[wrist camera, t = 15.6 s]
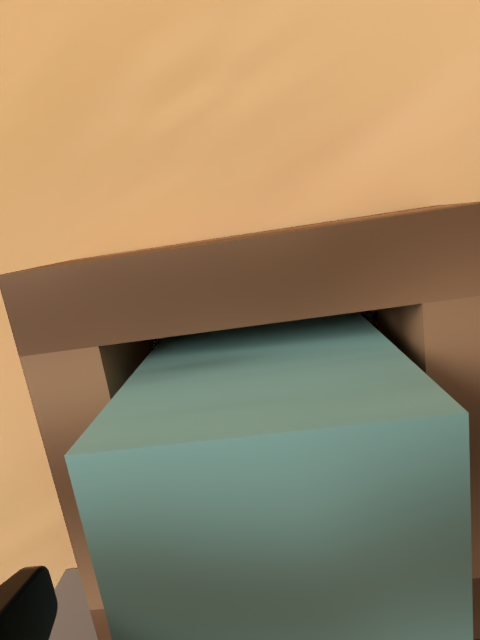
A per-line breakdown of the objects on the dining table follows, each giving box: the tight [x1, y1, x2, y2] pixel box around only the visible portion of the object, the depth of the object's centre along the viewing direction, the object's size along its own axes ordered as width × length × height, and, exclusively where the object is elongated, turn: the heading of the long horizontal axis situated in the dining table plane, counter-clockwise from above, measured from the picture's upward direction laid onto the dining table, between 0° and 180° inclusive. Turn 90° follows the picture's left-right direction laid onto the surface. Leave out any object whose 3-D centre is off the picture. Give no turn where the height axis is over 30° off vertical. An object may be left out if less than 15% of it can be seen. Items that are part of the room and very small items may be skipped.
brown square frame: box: [0, 202, 480, 640], centre depth 12 cm, size 12×12×4 cm
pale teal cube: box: [64, 312, 473, 640], centre depth 11 cm, size 6×6×8 cm
